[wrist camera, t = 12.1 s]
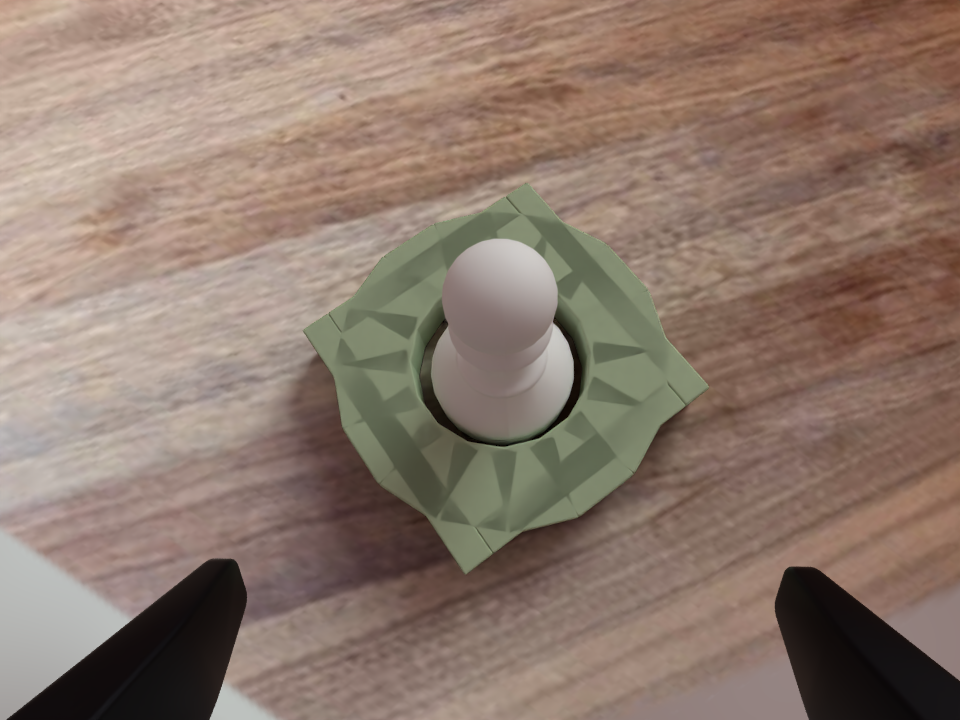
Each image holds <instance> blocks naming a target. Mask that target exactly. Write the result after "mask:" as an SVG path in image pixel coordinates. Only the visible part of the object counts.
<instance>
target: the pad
mask: <svg viewBox="0 0 960 720" xmlns="http://www.w3.org/2000/svg"><path fill="white" fill-rule="evenodd" d="M490 239H510V240H514V241H518V242H521V243H523V244H525V245H527V246H529V247H531V248H533V249H534V250H535V251H536V252H537V253H538V254H540V255H541V256H542V257H543V258H544V259H545V261H546V262H547V264H548V265H549V267H550V269H551V270H552V272H553V275H554V278H555V281H556V285H557V290H558V305H557V309H556V312H555V316H554V317H555V318H556V319H557V321H558V322H559V323H560V324H561V325H562V327H563V328H564V329H565V330H566V331H567V333H568V334H569V335H570V336H571V337H572V339H573V340H574V343H575V347H576V350H577V353H578V356H579V360H580V363H581V366H582V375H581V384H580V393H579V399H578V401H577V403H576V404H575V406H574V408H573V410H572V411H571V413H570V415H569V416H568V418H566V419H565V420H564V421H562V422H561V423H560V424H558V425H557V426H556V427H554V428H553V429H552V430H550V431H549V432H547V433H546V434H545V435H543V436H542V437H541V438H539V439H535V440H531V441H527V442H523V443H519V444H515V445H511V446H507V447H499V446H493V445H486V444H480V443H473V442H468V441H466V440H465V439H463V438H461V437H460V436H458V435H456V434H455V433H453V432H451V431H450V430H448V429H447V428H445V427H443V426H442V425H440V424H438V423H437V421H436V420H435V418H434V417H433V416H432V414H431V413H430V411H429V410H428V409H427V407H426V406H425V401H424V397H423V392H422V387H421V382H420V378H419V375H420V370H421V365H422V360H423V355H424V350H425V347H426V345H427V344H428V342H429V341H430V339H431V338H432V336H433V335H434V333H435V332H436V330H437V329H438V327H439V326H440V324H441V323H442V321H444V320H445V319H446V318H445V314H444V310H443V305H442V289H443V283H444V280H445V278H446V275H447V272H448V270H449V268H450V267H451V265H452V264H453V262H454V261H455V260H456V258H457V257H458V256H459V255H460V254H462V253H463V252H464V251H465V250H466V249H467V248H469V247H471V246H473V245H475V244H477V243H479V242H482V241H486V240H490ZM303 332H304V333H305V335H306V336H307V338H308V339H309V341H310V342H311V344H312V345H313V347H314V348H315V350H316V351H317V353H318V355H319V356H320V358H321V359H322V361H323V362H324V364H325V365H326V367H327V368H328V370H329V371H330V373H331V374H332V376H333V377H334V381H335V387H336V393H337V400H338V406H339V412H340V418H341V424H342V428H343V430H344V432H345V434H346V435H347V437H348V438H349V440H350V441H351V443H352V445H353V446H354V448H355V449H356V451H357V452H358V454H359V455H360V457H361V458H362V460H363V461H364V463H365V465H366V466H367V468H368V469H369V471H370V472H371V474H372V475H373V477H374V478H375V480H376V481H377V483H378V484H380V485H381V487H383V488H384V489H386V490H387V491H389V492H390V493H392V494H393V495H395V496H396V497H398V498H399V499H401V500H402V501H404V502H406V503H407V504H409V505H410V506H412V507H413V508H415V509H416V510H418V511H419V512H421V513H422V514H424V515H425V516H426V517H427V518H428V520H429V522H430V523H431V525H432V526H433V528H434V529H435V531H436V532H437V534H438V535H439V537H440V538H441V540H442V541H443V543H444V544H445V546H446V547H447V549H448V550H449V552H450V553H451V555H452V556H453V558H454V559H455V561H456V562H457V564H458V565H459V567H460V568H461V570H462V571H463V573H464V574H468V573H469V572H470V571H472V570H473V569H474V568H476V567H477V566H478V565H479V564H481V563H482V562H483V561H485V560H486V559H487V558H489V557H490V556H491V555H492V554H493V553H495V552H496V551H498V550H499V549H500V548H502V547H503V546H504V545H506V544H507V543H508V542H509V541H511V540H512V539H513V538H515V537H516V536H517V535H519V534H520V533H521V532H524V531H528V530H532V529H536V528H540V527H544V526H548V525H552V524H556V523H560V522H564V521H568V520H572V519H576V518H578V517H580V516H582V515H583V514H584V513H585V512H587V511H588V510H589V509H591V508H592V507H593V506H594V505H596V504H597V503H598V502H600V501H601V500H602V499H603V498H605V497H606V496H607V495H609V494H610V493H611V492H612V491H614V490H615V489H616V488H618V487H619V486H620V485H622V484H623V483H624V482H625V481H627V480H628V479H629V478H631V477H632V476H633V474H634V473H635V472H636V471H637V469H638V467H639V465H640V463H641V461H642V459H643V457H644V456H645V454H646V452H647V450H648V448H649V446H650V444H651V442H652V440H653V439H654V437H655V435H656V433H657V431H658V429H659V427H660V426H661V425H662V424H663V423H665V422H666V421H667V420H669V419H670V418H671V417H673V416H674V415H675V414H676V413H678V412H679V411H680V410H682V409H683V408H684V407H685V406H687V405H688V404H690V403H691V402H692V401H693V400H695V399H696V398H697V397H699V396H700V395H701V394H703V393H704V392H705V391H706V390H708V388H709V386H708V384H707V383H706V382H705V381H704V380H703V379H702V378H701V377H700V376H699V374H698V373H697V372H696V371H695V370H694V369H693V368H692V367H691V365H690V364H689V363H688V362H687V361H686V360H685V359H684V358H683V356H682V355H681V354H680V353H679V352H678V351H677V350H676V349H675V347H674V346H673V345H672V344H671V343H670V342H669V341H668V340H667V338H666V336H665V334H664V331H663V328H662V325H661V322H660V320H659V317H658V314H657V311H656V309H655V306H654V303H653V300H652V298H651V295H650V292H649V291H648V289H647V288H646V286H645V285H644V284H643V283H642V282H641V281H640V280H639V279H638V278H637V276H636V275H635V274H634V273H633V272H632V271H631V270H630V269H629V268H628V267H627V265H626V264H625V263H624V262H623V261H622V260H621V259H620V258H619V257H618V256H617V254H616V253H615V252H614V251H613V250H612V249H611V248H610V247H609V246H608V245H606V243H604V242H602V241H600V240H598V239H596V238H594V237H592V236H590V235H588V234H586V233H584V232H582V231H580V230H578V229H576V228H574V227H572V226H570V225H568V224H566V223H564V222H562V221H561V219H560V218H559V217H558V216H557V215H556V214H555V213H554V212H553V211H552V209H551V208H550V207H549V206H548V205H547V204H546V203H545V202H544V200H543V199H542V198H541V197H540V196H539V195H538V194H537V193H536V191H535V190H534V189H533V188H532V187H531V186H530V185H529V184H528V183H525V184H524V185H522V186H521V187H519V188H518V189H516V190H515V191H513V192H512V193H510V194H509V195H507V196H506V198H505V197H503V198H502V199H500V200H499V201H497V202H496V203H494V204H493V205H491V206H490V207H488V208H487V209H485V210H484V211H482V212H481V213H477V214H473V215H468V216H464V217H460V218H456V219H451V220H447V221H443V222H439V223H435V224H434V225H431V226H429V227H428V228H426V229H425V230H423V231H422V232H420V233H419V234H417V235H416V236H414V237H413V238H411V239H409V240H408V241H406V242H405V243H403V244H402V245H400V246H399V247H397V248H396V249H394V250H393V251H391V252H390V253H388V254H387V255H385V256H384V257H382V258H381V260H380V261H379V262H378V264H377V265H376V266H375V268H374V269H373V271H372V272H371V273H370V275H369V276H368V277H367V279H366V280H365V282H364V283H363V284H362V286H361V287H360V288H359V290H358V291H357V293H356V294H355V295H354V296H353V297H352V298H350V299H349V300H347V301H346V302H344V303H343V304H341V305H340V306H338V307H337V308H335V309H334V310H332V311H331V312H329V315H328V314H326V315H325V316H323V317H322V318H320V319H319V320H317V321H316V322H314V323H313V324H311V325H310V326H308V327H307V328H305V329H304V330H303Z"/></svg>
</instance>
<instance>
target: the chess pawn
mask: <svg viewBox="0 0 960 720" xmlns="http://www.w3.org/2000/svg"><path fill="white" fill-rule="evenodd" d="M442 305H443V310H444V314H445V318H446V320H447V322H448V327H447V328H446V330H445V331H444V333H443V334H442V336H441V337H440V339H439V340H438V342H437V345H436V348H435V351H434V354H433V357H432V366H431V379H432V384H433V388H434V393H435V395H436V397H437V399H438V401H439V403H440V405H441V407H442V409H443V411H444V412H445V414H446V416H447V417H448V419H449V420H450V421H451V422H452V423H453V424H454V425H455V426H456V427H457V428H458V429H459V430H460V431H462V432H463V433H465V434H467V435H468V436H470V437H471V438H473V439H475V440H478V441H482V442H485V443H488V444H493V445H512V444H516V443H520V442H525V441H528V440H530V439H532V438H534V437H536V436H537V435H539V434H541V433H543V432H544V431H545V430H546V429H547V428H548V427H549V426H550V425H551V424H553V423H554V422H555V421H556V420H557V418H558V416H559V415H560V413H561V411H562V410H563V408H564V406H565V404H566V402H567V400H568V398H569V395H570V392H571V388H572V384H573V381H574V361H573V357H572V354H571V351H570V347H569V344H568V342H567V340H566V339H565V337H564V336H563V334H562V332H561V331H560V329H559V328H558V327H557V326H556V325H555V324H554V323H553V319H554V316H555V312H556V309H557V305H558V290H557V285H556V281H555V278H554V275H553V272H552V270H551V269H550V267H549V265H548V264H547V262H546V261H545V259H544V258H543V257H542V256H541V255H540V254H538V253H537V252H536V251H535V250H534V249H533V248H531V247H529V246H527V245H525V244H523V243H521V242H518V241H514V240H510V239H490V240H486V241H482V242H479V243H477V244H475V245H473V246H471V247H469V248H467V249H466V250H465V251H464V252H463V253H462V254H460V255H459V256H458V257H457V258H456V260H455V261H454V262H453V264H452V265H451V267H450V268H449V270H448V272H447V275H446V278H445V280H444V283H443V289H442Z"/></svg>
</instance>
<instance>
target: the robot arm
mask: <svg viewBox="0 0 960 720" xmlns="http://www.w3.org/2000/svg"><path fill="white" fill-rule="evenodd" d="M246 603H247V592H246V588H245V585H244V582H243V579H242V576H241V572H240V569H239V566H238V564H237V562H236V561H235V560H234V559H210V560H208V561H206V562H205V563H203V564H202V565H201V566H200V567H198V568H197V569H196V570H195V571H193V572H192V573H191V574H190V575H188V576H187V577H186V578H185V579H183V580H182V581H181V582H179V583H178V584H177V585H176V586H174V587H173V588H172V589H171V590H169V591H168V592H167V593H166V594H164V595H163V596H162V597H161V598H159V599H158V600H157V601H155V602H154V603H153V604H152V605H150V606H149V607H148V608H147V609H145V610H144V611H143V612H142V613H140V614H139V615H138V616H137V617H135V618H134V619H133V620H132V621H130V622H129V623H128V624H126V625H125V626H124V627H123V628H121V629H120V630H119V631H118V632H116V633H115V634H114V635H113V636H111V637H110V638H109V639H108V640H106V641H105V642H104V643H103V644H101V645H100V646H99V647H97V648H96V649H95V650H94V651H92V652H91V653H90V654H89V655H88V656H86V657H85V658H84V659H82V660H81V661H80V662H79V663H77V664H76V665H75V666H74V667H72V668H71V669H70V670H68V671H67V672H66V673H65V674H63V675H62V676H61V677H60V678H58V679H57V680H56V681H55V682H53V683H52V684H51V685H50V686H49V687H47V688H46V689H45V690H43V691H42V692H41V693H39V694H38V695H37V696H36V697H34V698H33V699H32V700H31V701H29V702H28V703H27V704H26V705H24V706H23V707H22V708H21V709H19V710H18V711H17V712H16V713H14V714H13V715H12V716H10V717H9V718H8V719H7V720H209V719H210V717H211V714H212V712H213V709H214V707H215V704H216V702H217V699H218V696H219V693H220V690H221V687H222V684H223V680H224V677H225V674H226V670H227V667H228V664H229V661H230V657H231V654H232V651H233V647H234V644H235V641H236V638H237V634H238V631H239V628H240V624H241V621H242V618H243V614H244V611H245V608H246ZM775 613H776V618H777V621H778V624H779V627H780V631H781V634H782V637H783V640H784V643H785V647H786V650H787V653H788V656H789V659H790V663H791V666H792V669H793V672H794V675H795V679H796V682H797V685H798V688H799V691H800V694H801V697H802V701H803V704H804V707H805V710H806V713H807V715H808V718H809V720H960V681H959V680H958V679H956V678H955V677H954V676H953V675H952V674H950V673H949V672H948V671H946V670H945V669H944V668H943V667H941V666H940V665H939V664H938V663H936V662H935V661H934V660H932V659H931V658H930V657H929V656H927V655H926V654H925V653H924V652H922V651H921V650H920V649H919V648H917V647H916V646H915V645H913V644H912V643H911V642H909V641H908V640H907V639H906V638H904V637H903V636H902V635H901V634H900V633H898V632H897V631H895V630H894V629H893V628H892V627H891V626H889V625H888V624H887V623H886V622H884V621H883V620H882V619H881V618H879V617H878V616H877V615H875V614H874V613H873V612H872V611H870V610H869V609H868V608H867V607H865V606H864V605H863V604H861V603H860V602H859V601H858V600H856V599H855V598H854V597H853V596H851V595H850V594H849V593H848V592H846V591H845V590H844V589H842V588H841V587H840V586H839V585H837V584H836V583H835V582H834V581H832V580H831V579H830V578H829V577H827V576H826V575H825V574H823V573H822V572H821V571H819V570H818V569H816V568H813V567H788V568H787V569H786V570H785V572H784V574H783V577H782V581H781V584H780V587H779V590H778V593H777V596H776V600H775Z"/></svg>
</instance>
